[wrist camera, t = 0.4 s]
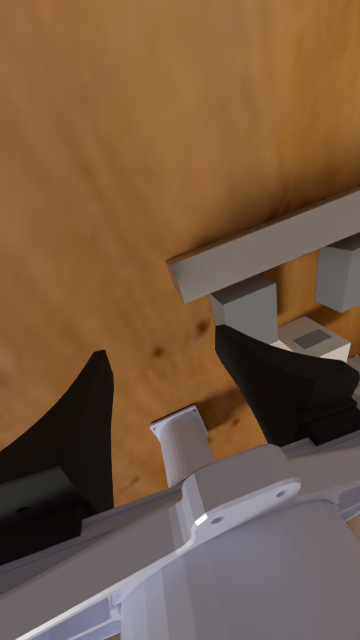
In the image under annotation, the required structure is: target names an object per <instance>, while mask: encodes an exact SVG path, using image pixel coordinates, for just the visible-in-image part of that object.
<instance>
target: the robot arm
mask: <svg viewBox="0 0 360 640" xmlns="http://www.w3.org/2000/svg"><path fill="white" fill-rule="evenodd" d="M215 351H216V353H217V355H218V357H219V359H220V361H221V362H222V364H223V365H224V367H225V368H226V370H227V371H228V373H229V374H230V376H231V377H232V378H233V380H234V381H235V383H236V384H237V386H238V387H239V388H240V390H241V392H242V393H243V395H244V397H245V399H246V400H247V402H248V404H249V406H250V408H251V410H252V412H253V413H254V415H255V417H256V419H257V421H258V423H259V425H260V427H261V429H262V431H263V434H264V436H265V438H266V440H267V442H268V444H265V445H260V446H257V447H254V448H251V449H249V450H246V451H243V452H240V453H237V454H235V455H232V456H229V457H226V458H223V459H220V460H218V461H215V459H214V456H213V453H212V451H211V448H210V446H209V443H208V441H207V438H206V436H207V435H208V432H207V430H206V428H205V425H204V423H203V421H202V418H201V416H200V414H199V411H198V409H197V407H196V405H192V406H190V407H188V408H185V409H183V410H181V411H179V412H177V413H174V414H172V415H170V416H168V417H166V418H163V419H161V420H159V421H157V422H155V423H152V424H151V425H150V429H151V430H152V431H153V433H154V434H155V435H156V437H157V438H158V439H159V441H160V443H161V448H162V453H163V459H164V464H165V470H166V475H167V481H168V486H169V488H168V489H165V490H162V491H160V492H157V493H154V494H151V495H149V496H146V497H143V498H141V499H138V500H135V501H132V502H130V503H127V504H124V505H121V506H119V507H116V508H114V501H113V484H112V463H111V418H112V406H113V393H114V382H113V373H112V370H111V367H110V364H109V360H108V357H107V354H106V351H105V350H100V351H95V352H94V353H93V354H92V356H91V357H90V359H89V360H88V362H87V364H86V365H85V367H84V368H83V370H82V371H81V373H80V374H79V375H78V377H77V378H76V380H75V381H74V382H73V384H72V385H71V386H70V388H69V389H68V390H67V391H66V393H65V394H64V395H63V396H62V397H61V398H60V399H59V400H58V402H57V403H56V404H55V405H54V406H53V407H52V408H51V409H50V410H49V411H48V412H47V413H46V414H45V415H44V416H43V417H42V418H40V419H39V420H38V421H37V422H36V423H35V424H34V425H33V426H32V427H31V428H29V429H28V430H27V431H26V432H25V433H24V434H22V435H21V436H20V437H19V438H17V439H16V440H15V441H14V442H12V443H11V444H10V445H9V446H7V447H6V448H5V449H3V450H2V451H1V452H0V640H103V639H105V638H108V637H110V636H113V635H115V634H117V633H120V632H121V640H360V542H359V541H358V539H357V538H356V537H355V535H354V534H353V533H352V531H351V530H350V528H349V527H348V526H347V524H346V523H345V521H347V520H348V519H350V518H352V517H354V516H356V515H358V514H359V513H360V409H358V408H357V407H356V406H357V405H358V403H357V402H356V401H355V400H354V399H353V398H352V395H353V393H354V391H355V389H356V388H357V386H358V383H359V381H360V374H359V371H357V370H356V369H354V368H353V367H351V366H350V365H348V364H347V363H346V362H344V361H342V360H336V359H328V358H321V357H315V356H310V355H305V354H300V353H296V352H292V351H288V350H285V349H281V348H278V347H275V346H272V345H269V344H267V343H264V342H262V341H259V340H257V339H255V338H252V337H250V336H248V335H246V334H244V333H242V332H240V331H238V330H236V329H234V328H232V327H230V326H227V325H225V324H222V325H217V326H216V331H215Z"/></svg>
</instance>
